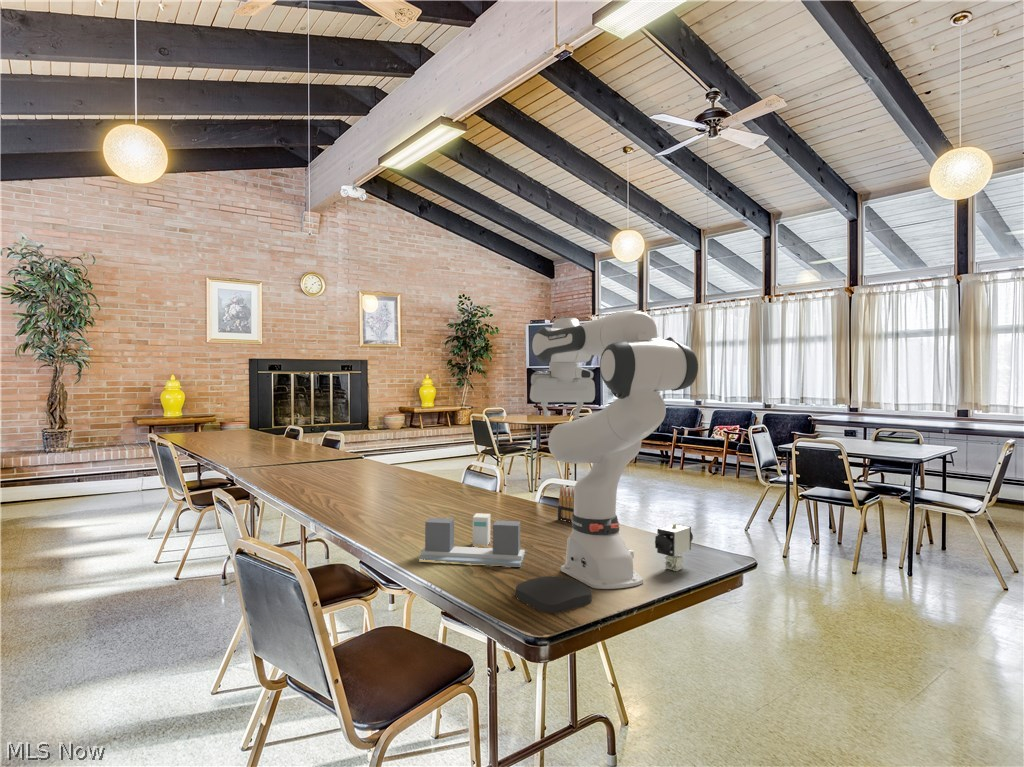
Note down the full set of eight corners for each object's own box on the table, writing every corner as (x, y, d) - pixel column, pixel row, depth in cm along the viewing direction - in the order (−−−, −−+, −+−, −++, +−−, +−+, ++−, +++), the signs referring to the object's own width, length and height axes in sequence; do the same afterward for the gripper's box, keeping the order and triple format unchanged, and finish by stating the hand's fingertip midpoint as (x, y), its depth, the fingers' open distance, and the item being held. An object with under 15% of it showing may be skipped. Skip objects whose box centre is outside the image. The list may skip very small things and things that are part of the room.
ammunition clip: (557, 519, 200) (557, 486, 200) (560, 518, 202) (561, 485, 202) (581, 525, 193) (581, 490, 193) (584, 524, 194) (584, 489, 194)
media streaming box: (549, 618, 116) (549, 603, 116) (508, 596, 128) (508, 583, 128) (599, 602, 125) (599, 589, 125) (556, 583, 137) (556, 571, 137)
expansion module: (487, 548, 165) (487, 517, 165) (472, 547, 165) (472, 517, 165) (490, 543, 170) (490, 513, 170) (475, 542, 171) (476, 513, 171)
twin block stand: (520, 567, 147) (520, 529, 147) (417, 562, 151) (418, 525, 151) (525, 554, 159) (525, 518, 159) (430, 549, 163) (430, 514, 163)
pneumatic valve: (693, 566, 150) (693, 521, 150) (670, 576, 142) (670, 529, 142) (674, 561, 154) (675, 518, 154) (651, 570, 146) (651, 525, 146)
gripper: (534, 371, 162) (532, 418, 163) (598, 372, 168) (596, 418, 169) (527, 370, 168) (526, 415, 169) (589, 371, 174) (587, 414, 175)
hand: (561, 416), depth 170 cm, fingers open, 8 cm apart
